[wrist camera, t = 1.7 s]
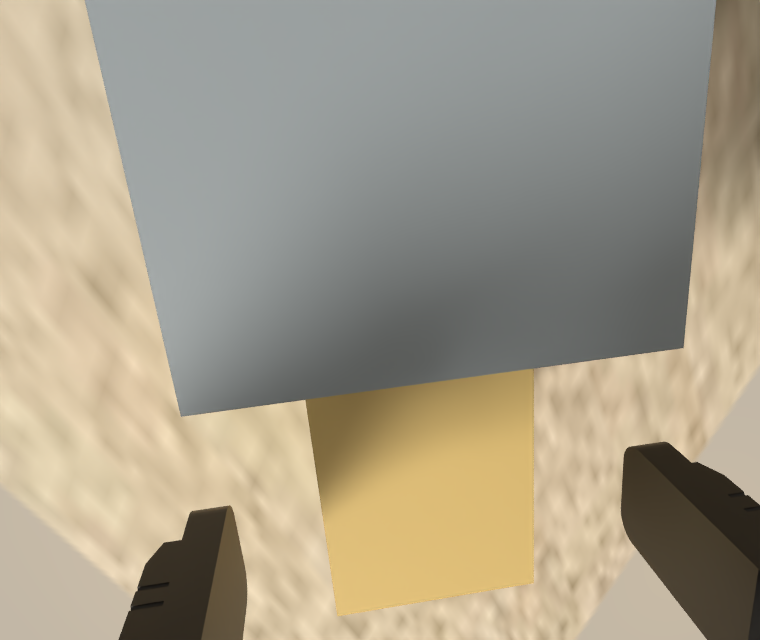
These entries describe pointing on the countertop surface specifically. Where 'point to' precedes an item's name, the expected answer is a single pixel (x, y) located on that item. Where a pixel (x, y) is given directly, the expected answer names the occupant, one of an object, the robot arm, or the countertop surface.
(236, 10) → the block
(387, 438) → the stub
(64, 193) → the countertop surface
